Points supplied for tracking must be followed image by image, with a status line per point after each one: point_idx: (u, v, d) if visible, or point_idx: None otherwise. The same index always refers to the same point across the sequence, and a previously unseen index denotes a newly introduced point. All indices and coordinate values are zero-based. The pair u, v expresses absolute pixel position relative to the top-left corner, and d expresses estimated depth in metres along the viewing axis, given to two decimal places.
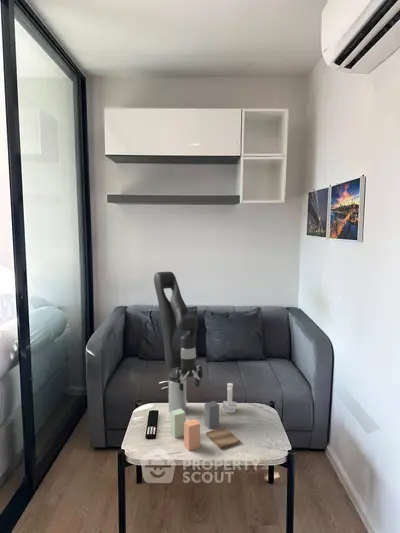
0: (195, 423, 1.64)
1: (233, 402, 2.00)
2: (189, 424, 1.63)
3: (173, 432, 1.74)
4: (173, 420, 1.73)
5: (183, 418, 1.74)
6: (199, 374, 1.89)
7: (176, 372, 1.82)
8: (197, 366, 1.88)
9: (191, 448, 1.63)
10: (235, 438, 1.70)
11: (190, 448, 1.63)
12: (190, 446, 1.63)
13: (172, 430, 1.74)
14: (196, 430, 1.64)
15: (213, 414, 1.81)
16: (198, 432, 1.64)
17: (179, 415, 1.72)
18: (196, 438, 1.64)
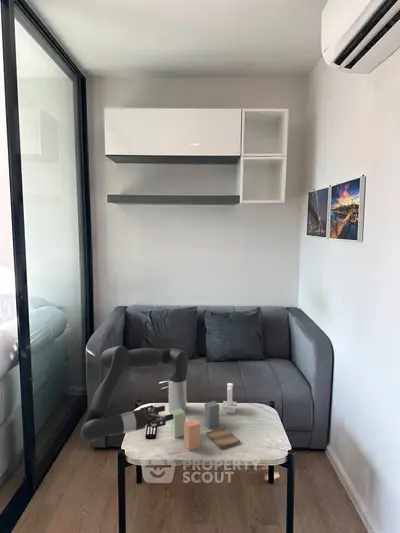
0: (195, 423, 1.64)
1: (233, 402, 2.00)
2: (189, 425, 1.63)
3: (173, 432, 1.74)
4: (173, 420, 1.73)
5: (183, 418, 1.74)
6: None
7: None
8: (150, 423, 1.49)
9: (191, 448, 1.63)
10: (235, 438, 1.70)
11: (190, 448, 1.63)
12: (190, 446, 1.63)
13: (172, 430, 1.74)
14: (196, 430, 1.64)
15: (213, 414, 1.81)
16: (198, 432, 1.64)
17: (178, 415, 1.73)
18: (196, 438, 1.64)
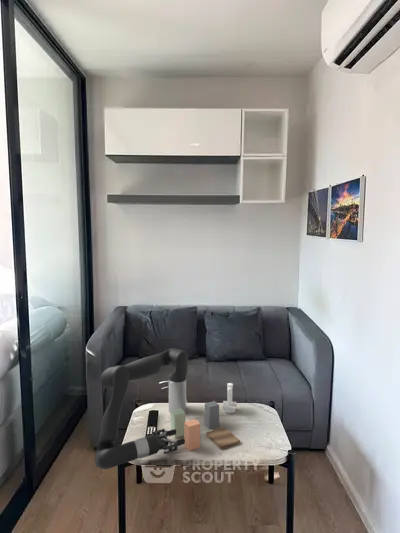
0: (195, 423, 1.64)
1: (233, 402, 2.00)
2: (189, 424, 1.63)
3: None
4: (173, 420, 1.73)
5: (183, 418, 1.74)
6: None
7: None
8: (163, 448, 1.53)
9: (191, 448, 1.63)
10: (235, 438, 1.70)
11: (190, 448, 1.63)
12: (190, 446, 1.63)
13: None
14: (196, 430, 1.64)
15: (213, 414, 1.81)
16: (198, 432, 1.64)
17: (179, 415, 1.72)
18: (196, 438, 1.64)
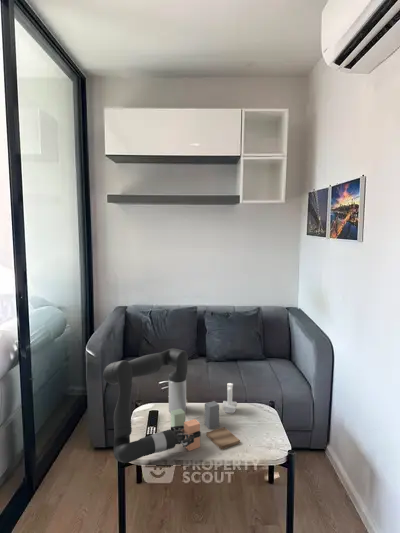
0: (195, 423, 1.64)
1: (233, 402, 2.00)
2: (189, 424, 1.63)
3: None
4: (173, 420, 1.73)
5: (183, 418, 1.74)
6: None
7: None
8: (181, 442, 1.57)
9: (191, 448, 1.63)
10: (235, 438, 1.70)
11: (190, 448, 1.63)
12: (190, 445, 1.63)
13: None
14: (196, 430, 1.64)
15: (213, 414, 1.81)
16: None
17: (179, 415, 1.72)
18: None
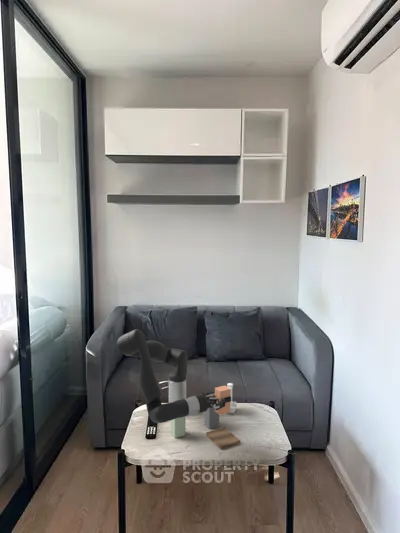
0: (226, 388, 1.68)
1: (233, 402, 2.00)
2: (220, 390, 1.67)
3: (173, 432, 1.74)
4: (173, 420, 1.73)
5: (183, 418, 1.74)
6: None
7: None
8: (213, 406, 1.61)
9: (222, 413, 1.67)
10: (235, 438, 1.70)
11: (221, 412, 1.67)
12: (221, 410, 1.67)
13: (172, 430, 1.74)
14: (227, 395, 1.68)
15: (213, 414, 1.81)
16: None
17: None
18: (227, 403, 1.68)
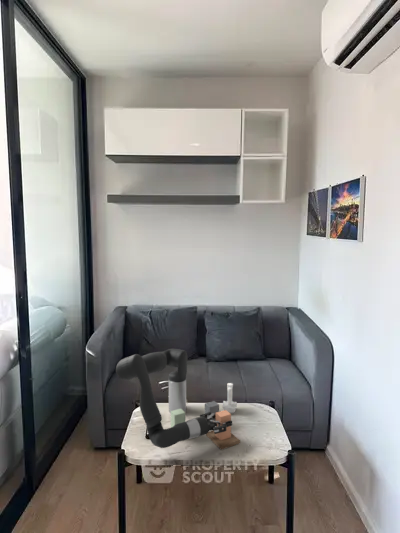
0: (226, 413, 1.70)
1: (233, 402, 2.00)
2: (221, 415, 1.68)
3: None
4: (173, 420, 1.73)
5: (183, 418, 1.74)
6: None
7: None
8: (213, 429, 1.62)
9: (223, 438, 1.69)
10: (235, 438, 1.70)
11: (222, 438, 1.68)
12: (222, 435, 1.68)
13: None
14: (228, 420, 1.69)
15: None
16: None
17: (179, 415, 1.73)
18: (227, 428, 1.69)
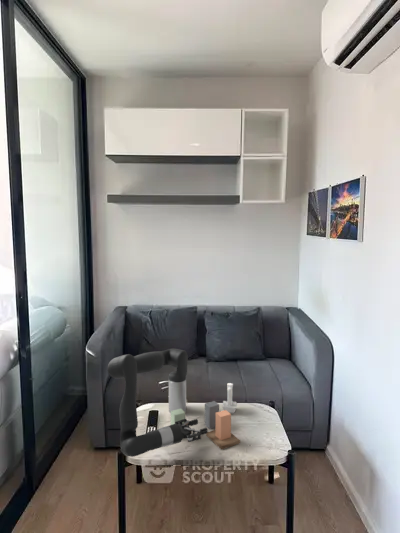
0: (226, 413, 1.70)
1: (233, 402, 2.00)
2: (221, 415, 1.68)
3: None
4: (173, 420, 1.73)
5: (183, 418, 1.74)
6: None
7: None
8: (186, 437, 1.56)
9: (223, 438, 1.69)
10: (235, 438, 1.70)
11: (222, 438, 1.68)
12: (222, 435, 1.68)
13: None
14: (228, 420, 1.69)
15: (213, 414, 1.81)
16: (229, 422, 1.70)
17: (179, 415, 1.73)
18: (227, 428, 1.69)
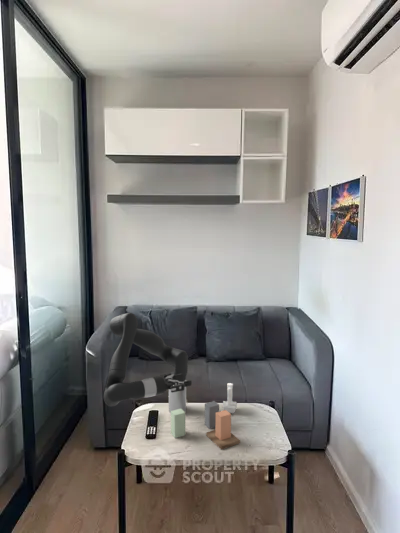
0: (226, 413, 1.70)
1: (233, 402, 2.00)
2: (221, 415, 1.68)
3: (173, 432, 1.74)
4: (173, 420, 1.73)
5: (183, 418, 1.74)
6: None
7: None
8: (170, 388, 1.56)
9: (223, 438, 1.69)
10: (235, 438, 1.70)
11: (222, 438, 1.68)
12: (222, 435, 1.68)
13: (172, 430, 1.74)
14: (228, 420, 1.69)
15: (213, 414, 1.81)
16: (229, 422, 1.70)
17: (179, 415, 1.72)
18: (227, 428, 1.69)
